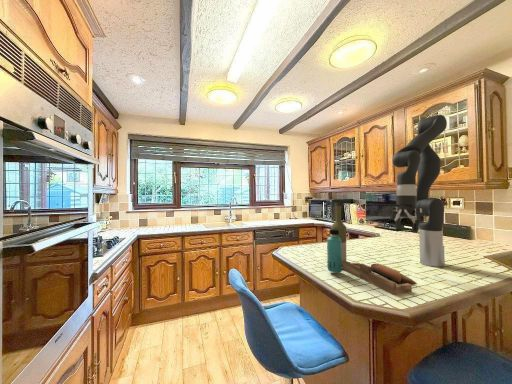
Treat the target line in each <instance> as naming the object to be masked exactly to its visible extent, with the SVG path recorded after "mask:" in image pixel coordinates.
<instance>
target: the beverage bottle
mask: <svg viewBox="0 0 512 384" xmlns="http://www.w3.org/2000/svg"><path fill="white" fill-rule="evenodd" d="M328 233H329V234H328V235H330V236H327V238H326V241H327V242H326V245H327V246H326V249H327V250H326V252H327V253H326V254H327V255H326V257H327V263H326V267H327V270H328V271H329V272H331V273H337V274H338V273H342V271H343V268H342V247H341V241H342V240H341V238H339V237H337V236H332V235H338V234H339V230H337V229H331V228H330V229H329V232H328ZM331 234H332V235H331Z"/></svg>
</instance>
